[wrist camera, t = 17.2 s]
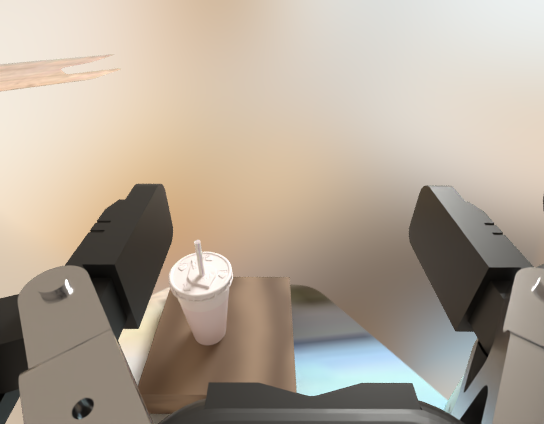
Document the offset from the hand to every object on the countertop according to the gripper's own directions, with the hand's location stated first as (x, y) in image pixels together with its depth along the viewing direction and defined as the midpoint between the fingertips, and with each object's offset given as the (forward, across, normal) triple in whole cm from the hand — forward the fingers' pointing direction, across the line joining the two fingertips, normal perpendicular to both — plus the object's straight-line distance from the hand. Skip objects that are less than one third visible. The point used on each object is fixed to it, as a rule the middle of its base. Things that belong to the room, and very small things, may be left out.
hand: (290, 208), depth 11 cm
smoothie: (+15, +8, +28) cm, 33 cm away
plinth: (+16, +6, +32) cm, 36 cm away
